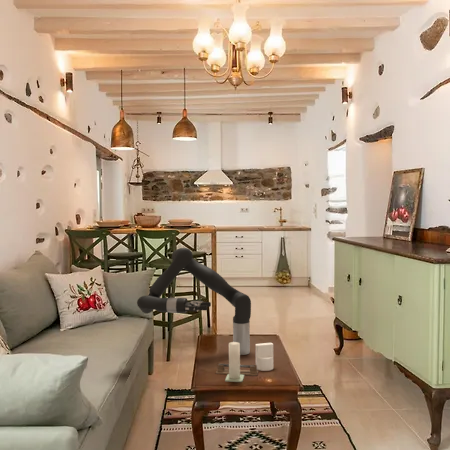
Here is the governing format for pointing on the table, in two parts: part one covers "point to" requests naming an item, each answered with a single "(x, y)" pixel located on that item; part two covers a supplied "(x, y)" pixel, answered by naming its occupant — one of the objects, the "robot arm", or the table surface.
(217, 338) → the table surface
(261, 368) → the cylinder with rectangular tab
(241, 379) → the sage mat
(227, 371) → the rail stand
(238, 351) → the tall cream cylinder
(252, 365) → the metal rod
